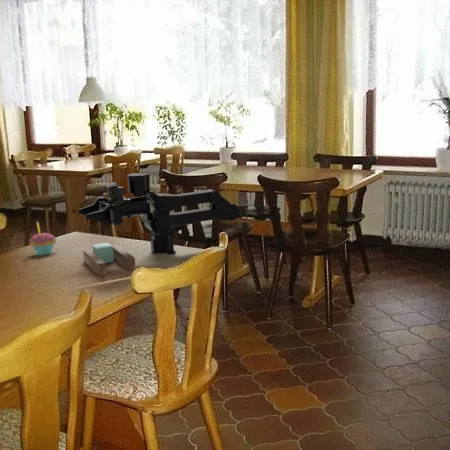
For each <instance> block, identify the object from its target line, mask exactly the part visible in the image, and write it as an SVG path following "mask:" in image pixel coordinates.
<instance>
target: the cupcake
mask: <svg viewBox="0 0 450 450" xmlns="http://www.w3.org/2000/svg"><path fill="white" fill-rule="evenodd" d="M36 227H37V231H38V233H37V234H34V235H33V236H31V238H30V239H29V244H30V246H31V247H33V249H34V251H35V254H36V255H37V256H44V255H51V254H52V252H53V247H54V245H55V243H57V241H56V239H57V238H56V237H55V235H53V234H51V233H49V232H41V228H40V223H39V222H38V220H36Z"/></svg>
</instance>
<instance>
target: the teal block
mask: <svg viewBox="0 0 450 450" xmlns="http://www.w3.org/2000/svg"><path fill="white" fill-rule="evenodd" d="M112 246H113V245H112V244H110V243H109V242H104V243H98V244H92V252H93V253H94V254H95V255H97V256H98V257H99V258H100V259H101V260H103V261H104V262H105V264H107V263H112V262H115V261H114V260H115V259H114V258H113V248H112Z"/></svg>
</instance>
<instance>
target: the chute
mask: <svg viewBox="0 0 450 450" xmlns="http://www.w3.org/2000/svg"><path fill="white" fill-rule="evenodd" d="M112 248H113V258H114V260H115V261H116V262H117V263H118V264H120V265H121V266H122V267H124V268H125V269H126V270H128V271H135V270H134V269H135V268H136V267H137V266H136V258H135V256H133V255H132V254H130V253H129V252H127V251H126V250H125V249H123V248H122V246H121V247H120V245H117V244H114V245H112ZM82 253H83V262H84V263H85V264H86V265H87V266H88V267H89V268H90V269H91V270H92V271H94V272H95V273H96V274H97V275H98V276H99V277H104V276H107V269H106V268H107V267H106V263H105V262H104V261H103V260H101V259H100V258H99V257H98V256H97V255H95V254H94V253H93V250H91V249H83V250H82Z"/></svg>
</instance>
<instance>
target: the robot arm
mask: <svg viewBox="0 0 450 450" xmlns="http://www.w3.org/2000/svg"><path fill="white" fill-rule="evenodd" d="M150 176H151V175H150V173H146V172H145V173H137V172H135V173H130V174H127V184H128V185H127V186H128V193H130V194H132V197H130V198H126V197H124V194H125V193H126V190H125V187H123V186H119V184H117V182H116V181H115V182H114V181H112V182H110V183H108V184H106V185H104V186H103V187H104V189H105V190H106V192H107V194H108V196H109V198H108V199H107V198H106V197H105V196H97V197H96V198H95V199H94V201H93V202H92V203H91V204H89V205H87V206H84V207H82V208H80V209H78V210H77V213H78V214H80V215H84V216H85V219H86V220H90V221H95V222H98V223H102V224H107V225H110V226H112V225H113V226H120V225H121V224H122V223H123V222H124V221H123V218H126V219H131V217H135V216H142V215H143V223H144V227H146V228H147V229H148V230H149V232H150V233H151V239H150V250H151V253H153V254H168V255H171V254H176V253H177V251H176V250H174V249H175V247H174V237H173V236H174V234H175V229H174V227H176V226H183V225H187V224H194V223H200V222H206V221H214V220H215V221H224V222H234V221H237V220H238V218H239V216H240V212H241V211H240V208H239V206H238V205H237V204H235V203H232V202H230V201H229V200H228V199H226V198H225V197H224V196H222V195H221V194H220V193H219V192H218V191H217V190H214V189H210V188H209V189H205V190H200V191H192V192H184V193H177V194H175V193H174V194H172V193H160V192H159V193H158V192H155V191H153V190H151V187H150V186H151V184H150V178H151V177H150ZM206 203H207V204H210V205H211V206H209V207H204V208H198V209H190V210H184V211H179V212H178V211H177V212H173V211H174V210H176V209H177V208H180V207H181V208H182V207H187V206H195V205H200V204H201V205H202V204H206Z"/></svg>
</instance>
